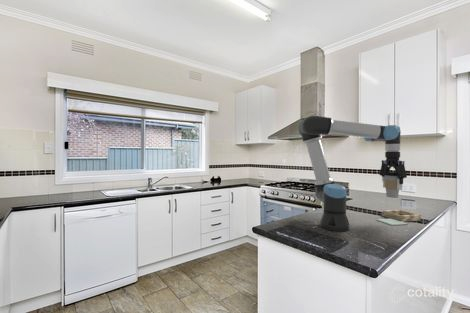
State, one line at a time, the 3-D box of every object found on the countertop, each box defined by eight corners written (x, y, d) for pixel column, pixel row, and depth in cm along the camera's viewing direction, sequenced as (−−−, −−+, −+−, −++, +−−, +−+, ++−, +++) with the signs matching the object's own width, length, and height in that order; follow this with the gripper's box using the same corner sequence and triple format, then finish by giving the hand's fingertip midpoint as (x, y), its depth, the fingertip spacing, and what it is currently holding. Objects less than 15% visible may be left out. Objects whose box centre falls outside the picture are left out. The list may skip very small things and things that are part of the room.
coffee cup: (396, 195, 146) (396, 171, 146) (405, 198, 137) (405, 172, 137) (379, 195, 147) (380, 171, 147) (388, 198, 138) (388, 172, 138)
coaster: (392, 225, 136) (392, 224, 136) (376, 220, 146) (376, 219, 146) (407, 224, 138) (407, 223, 138) (391, 219, 149) (391, 218, 149)
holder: (401, 221, 143) (401, 216, 143) (382, 215, 157) (382, 210, 157) (420, 220, 146) (420, 214, 146) (400, 214, 160) (400, 209, 160)
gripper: (415, 151, 132) (414, 191, 132) (382, 151, 153) (382, 186, 153) (404, 150, 130) (403, 191, 130) (373, 151, 152) (372, 186, 152)
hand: (392, 188), depth 142 cm, fingers closed on coffee cup, 9 cm apart
